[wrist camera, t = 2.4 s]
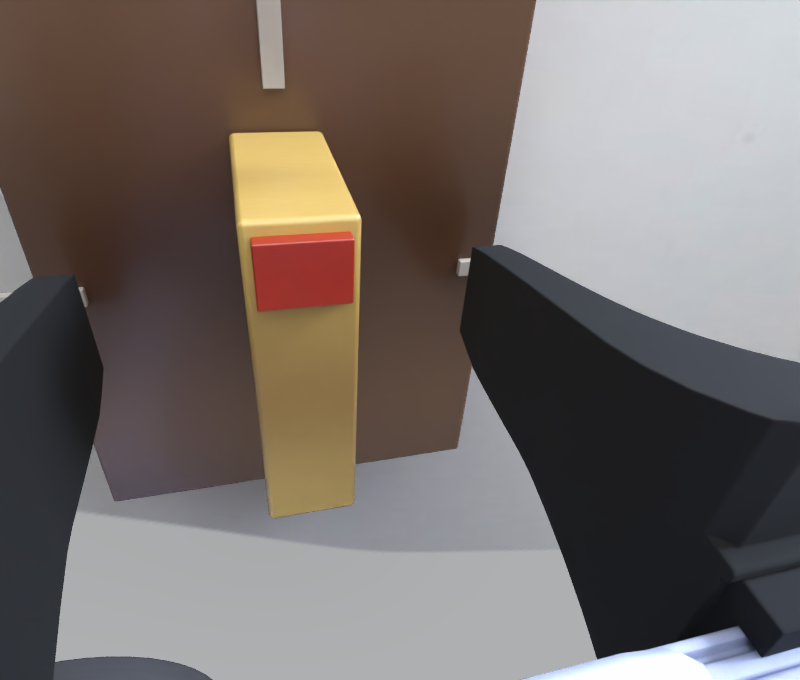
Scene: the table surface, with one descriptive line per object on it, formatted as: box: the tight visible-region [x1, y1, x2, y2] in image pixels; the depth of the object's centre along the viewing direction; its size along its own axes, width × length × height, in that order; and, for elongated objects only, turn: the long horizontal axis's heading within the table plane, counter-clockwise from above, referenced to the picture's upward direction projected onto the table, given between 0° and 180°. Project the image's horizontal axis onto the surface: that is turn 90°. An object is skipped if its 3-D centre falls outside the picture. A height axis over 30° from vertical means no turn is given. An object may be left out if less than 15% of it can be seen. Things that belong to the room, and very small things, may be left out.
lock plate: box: [0, 0, 536, 501], centre depth 13 cm, size 12×10×3 cm
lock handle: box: [229, 131, 362, 518], centre depth 10 cm, size 6×2×4 cm, turn 176°
